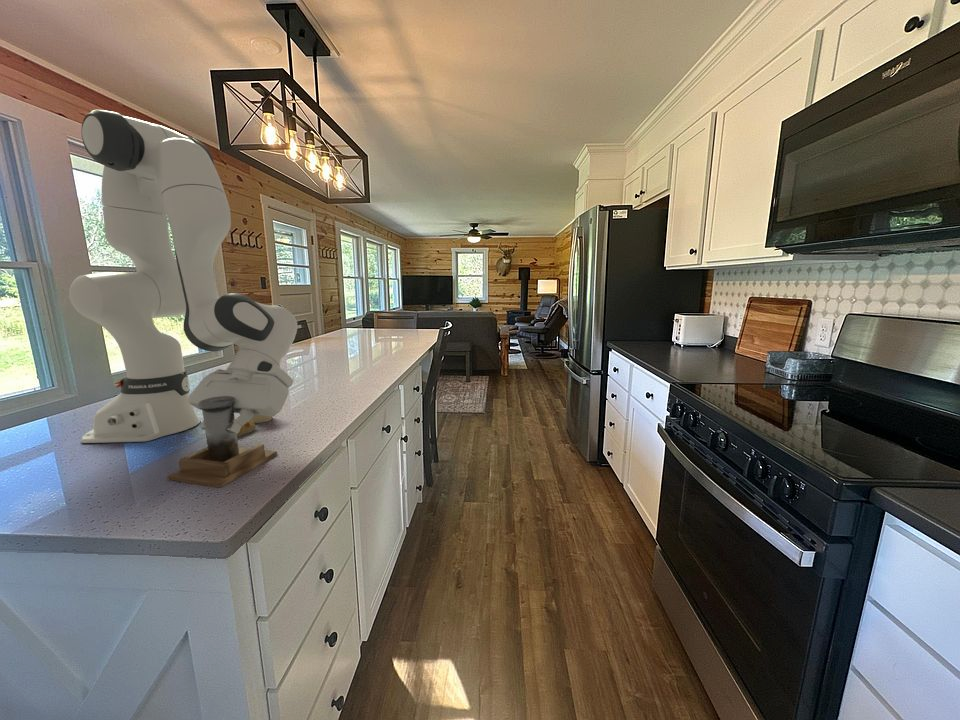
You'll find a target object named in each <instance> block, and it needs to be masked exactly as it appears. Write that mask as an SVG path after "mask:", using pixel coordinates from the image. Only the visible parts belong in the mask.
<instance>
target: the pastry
mask: <svg viewBox="0 0 960 720" xmlns="http://www.w3.org/2000/svg"><path fill="white" fill-rule="evenodd" d="M238 417H239V416H237V417H236V418H235V420H236V419H237V418H238ZM255 429H256V423H254V422H253V421H252V420H250V421H248V422H247V423H246V424H245V425H243V426H242V427H241V429H240V431H239V433H237V438H240V437H241V436H244V435H247V434H249V433H252V432H254V431H255ZM239 436H240V437H239Z"/></svg>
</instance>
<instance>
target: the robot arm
mask: <svg viewBox="0 0 960 720" xmlns="http://www.w3.org/2000/svg"><path fill="white" fill-rule="evenodd" d="M81 140H82V144H83V146H84V148H85V150H86V152H87V153H88V155H89V156H90V157H91V158H92V159H93V160H94V161H95V162H96V163H98V164H100V165H102V166H103V171H102V178H101V205H102V215H103V225H104V232H105V233H104V234H105V240H106V241H107V243H108V244H109V246H111V248H113V249H114V250H116V251H117V252H119V253H121V254H123V255H125V256H127V257H128V258H130V260H131V261H132V262H133V264H134V267H135V269H136V272H131V271H130V272H129V271H128V272H126V271H121V272H120V271H102V272H94V273H88V274H84V275H83V274H81V275H79V276H77V277H76V278H75V279H74V280H73V281H72V283H71V284H70V287H69V291H68V297H69V301H70V303H71V305H72V307H73V308H74V309H75V311H76V312H78V313H79V314H80V315H81V316H83V317H84V318H86V319H88V320H90V321H93V322H95V323H96V324H98V325H100V326H101V327H103V329H104V330H106V331H107V332H108V333H109V334H110V335H111V336H112V338H113V339H114V340H115V342H116V343H117V345H118V347H119V349H120V352H121V357H122V359H123V363H124V368H125V374H126V377H124V378H122V379H120V380H119V381H118V382H115V383H114V385H116V384H117V385H116V386H114V388H119V387H120V393H119V394H118V395H116V396H115V397H114V398H112V399H111V400H110V401H108V402H107V403H106V404H104V405H103V406H102V407H101V408H99V409H98V410H97V411H96V412H95V413H94V416H93V422H92V423H93V425H92V429H91V430H89V431H87V432H86V433H85V434H84V435H82V436H81V443H82V444H91V443H92V444H93V443H94V444H95V443H96V444H98V443H99V444H101V443H102V444H103V443H133V442H134V443H135V442H139V443H140V442H141V443H142V442H150V441H153V440H156V439H158V438H162V437H166V436H169V435H174V434H177V433H180V432H183V431H187V430H189V429H192V428H194V427H196V426H197V425H199V424H200V425H199V427H200V429H201V430H203V431H205V425H204V419H203V420H202V422H201V419H200V418H199V416H198V414H197V412H196V409H197V410H200V411H202V410H201V409H199V402H200V401H202V400H204V399H208V398H213V397H220V396H232V397H234V399H235V404H234V405H233V410H234V414H239V415H238V416H237V417H238V418H237V417H236V418H237V419H236V418H235V419H236V420H235V421H234V422H230V423H229V425H228V427H227V428H226V430H227V431H228V432H230V433H235V434H237V433H239V431H240V429H241V427H242V426H243V425H245V424H246V423H247V422H248V421H250V420H251V419H252V417H253V415H265V416H272V417H275V416H276V415H278V414H279V413H280V412H281V411H282V409H283V407H284V406H285V402H286V401H287V399H288V396H289V392H290V391H289V390H290V389H289V388H291V387H292V385H293V383H294V380H293V378H292V377H291V376H290V375H289V374H288V373H287V372H286V371H285V370H284V369H283V368H281V365H282V364H281V363H282V360H283V358H284V357H285V356H286V355H287V354H288V352H289V351H290V349H291V347H292V344H293V343H294V340H295V338H296V335H297V332H298V321H297V318H296V317H295V315H293V313H292V312H290V311H289V310H288V309H287V308H285V307H283V306H280V305H276V304H273V305H271V304H270V305H268V304H265V303H262V302H261V303H260V302H258V301H255V300H254V299H252V297H249V296H248V295H245V294H242V293H238V292H237V293H236V292H230V293H226V294H223V295H222V296H220V295H219V290H218V286H217V282H216V281H217V280H216V276H215V271H214V265H215V264H214V263H215V258H216V255H217V252H218V251H219V248H220V247H221V245H222V244H223V242H224V240H225V239H226V237H227V236H228V234H229V233H230V231H231V226H232V221H231V220H232V219H231V218H232V217H231V208H230V205H229V204H230V203H229V201H228V198H227V195H226V192H225V189H224V185H223V183H222V181H221V178H220V176H219V173H218V170H217V169H216V167H215V162H214V158H213V154H212V153H211V151H210V149H209V148H208V147H207V146H206V145H205V144H203V142H201V141H199V140H197V139H196V138H194V137H192V136H189V135H184V134H181V133H179V132H177V131H175V130H173V129H170V128H168V127H166V126H163V125H160V124H157V123H151V122H148V121H144V120H141V119H138V118H134V117H129V116H125V115H122V114H120V113H119V112H115V111H109V110H104V109H94V110H91V111H90V112H89V113H87V114H86V115H85V116H84V118H83V120H82V123H81ZM169 227H170V228H169ZM169 229H170V230H169ZM169 231H171V238H172V241H173V247H174V251H173V250H172V249H173V248H172V245H171V239H170V232H169ZM173 252H174V253H173ZM174 254H175V256H174ZM183 315H184V319H183V332H184V334H185V337H186V338H187V339H188V341H189V342H190V343H191V344H192V345H193V346H195V347H196V348H198V349H201V350H203V351H206V352H221V351H224V350H226V349H228V348H229V347H231V346H232V345H235V346H237V348H238V351H237V352H236V353H235V355H234V357H233V358H232V359H231V361H230V363H229V365H228V366H227V368H226V369H220V368H219V369H216V370H215V371H213V372H210V373H208V374H207V375H206V376H204V377H203V378H202V380H201V381H200V382H199V383H198V384H197V386H196V387H195V388H194V390H192V392H190V380H189V377H188V371H187V370H185V365H184V358H183V352H182V346H181V343H180V342H179V340H177V338H175V337H174V336H172V335H169V334H167V333H164V332H161V331H160V330H159V329H158V328H157V326H156V325H155V323H154V320H153V319H157V318H158V319H159V318H172V317H173V318H174V317H180V316H183ZM190 393H191V394H190ZM195 408H196V409H195Z"/></svg>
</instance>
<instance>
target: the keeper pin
mask: <svg viewBox="0 0 960 720" xmlns="http://www.w3.org/2000/svg"><path fill="white" fill-rule="evenodd" d="M234 404H235V399H234V397H232V396H220V397H213V398H208V399H204V400H202V401H200V402H199V409H198V410H200V409H201V410H200V411H202V417H203V418H202V419H203V420H204V425H205V430H204V431H205V437H206V443H207V447H208V452H209V459H210V461H218V462H225V461H227V460H229V459H231V458H233V457H235V456H236V455H238V454H239V447H240V446H239V442H238V437H237V434H235V433H230V432H228V431H227V430H226V428H227V427H228V425H229V423H230V422H234V421H235V419H236V418H235V413H234V410H233V405H234Z"/></svg>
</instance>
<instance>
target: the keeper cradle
mask: <svg viewBox="0 0 960 720" xmlns="http://www.w3.org/2000/svg"><path fill="white" fill-rule="evenodd" d="M238 447H239V454H238V455H236V456H235V457H233V458H231V459H229V460H227V461H225V462H218V461H210V459H209V452H208V446H206V447H204V448H202V449H200V450H198V451H195V452H193V453H190V454H189V455H187V456H184V457H182V458H180V459H178V467H179V470H178V471H175V472H173V473H172V474H169V475H167V480H168V479H169V480H168V481H172V480H175V481H174V482H178V481H182V482H181V483H185V482H187V483H186V484H193V485H199V484H200V485H201V486H206V487H207V486H208V487H214V488H220V489H221V488H222V487H224V486H226V485H227V484H229V483H230V482H233V481H234V480H236V479H238V478H239V477H241V476H243V475H245V474H247V473H248V472H250V471H252V470H253V469H255V468H257V467H258V466H260V465H262V464H263V463H265V462H267V461H269V460H270V459H272V458H273V457H275V456H277V455H278V451H277V450H270V449H265V444H263V443H258V444H255V445H254V446H253V447H243V446H238ZM200 485H199V486H200Z"/></svg>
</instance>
